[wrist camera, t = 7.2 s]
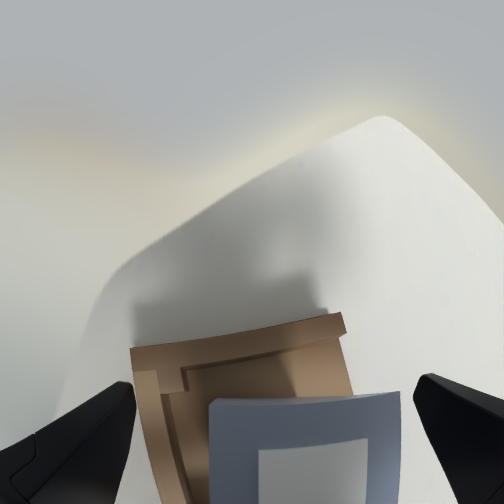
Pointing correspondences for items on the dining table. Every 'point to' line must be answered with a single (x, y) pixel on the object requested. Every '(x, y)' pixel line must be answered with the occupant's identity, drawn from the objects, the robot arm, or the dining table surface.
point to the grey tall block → (305, 450)
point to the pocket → (226, 390)
